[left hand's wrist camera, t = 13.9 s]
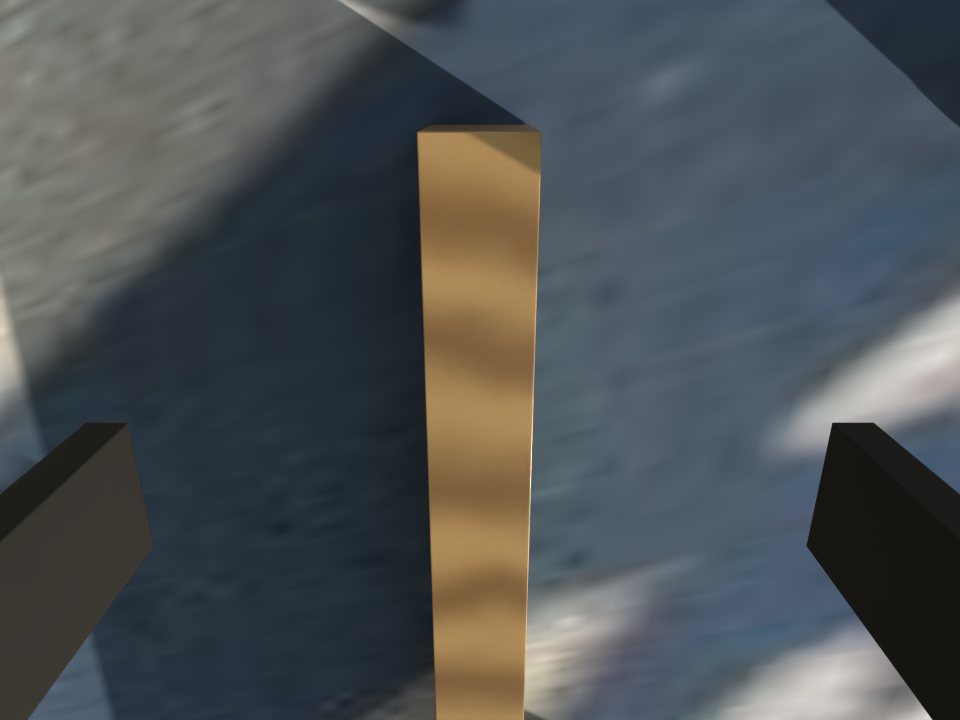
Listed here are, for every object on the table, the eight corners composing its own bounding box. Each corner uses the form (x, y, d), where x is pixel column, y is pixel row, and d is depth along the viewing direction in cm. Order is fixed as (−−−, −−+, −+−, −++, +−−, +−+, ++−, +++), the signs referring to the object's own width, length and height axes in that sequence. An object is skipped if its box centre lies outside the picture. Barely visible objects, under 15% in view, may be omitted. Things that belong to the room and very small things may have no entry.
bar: (429, 124, 34) (416, 131, 27) (529, 124, 34) (541, 131, 27) (449, 873, 55) (444, 987, 48) (510, 873, 55) (515, 987, 48)
